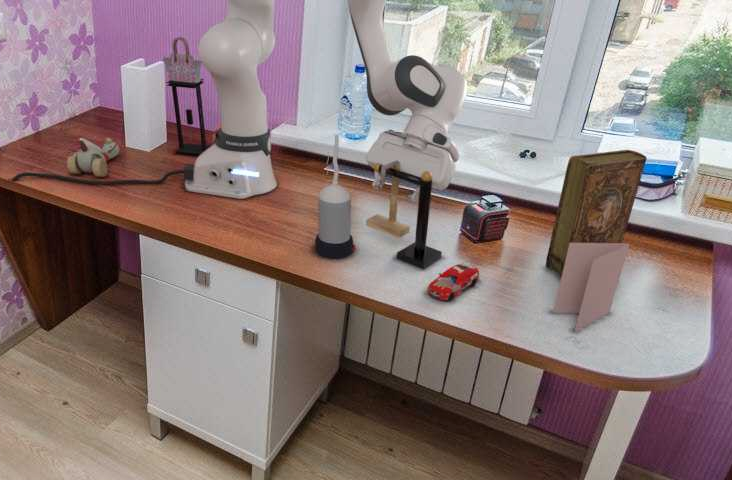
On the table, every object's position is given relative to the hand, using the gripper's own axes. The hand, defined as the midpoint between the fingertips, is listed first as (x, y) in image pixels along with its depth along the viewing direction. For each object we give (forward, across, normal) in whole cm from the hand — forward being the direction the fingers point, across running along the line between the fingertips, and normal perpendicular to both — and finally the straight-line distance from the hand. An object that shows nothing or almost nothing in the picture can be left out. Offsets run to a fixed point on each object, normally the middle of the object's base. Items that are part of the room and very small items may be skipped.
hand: (393, 194), depth 137 cm
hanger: (+7, 0, +4) cm, 8 cm away
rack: (+9, +4, +7) cm, 12 cm away
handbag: (+3, -75, +14) cm, 76 cm away
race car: (+14, +21, +3) cm, 25 cm away
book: (-5, +38, +22) cm, 44 cm away
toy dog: (+21, -82, -4) cm, 84 cm away
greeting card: (+9, +47, +8) cm, 48 cm away
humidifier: (+16, -7, 0) cm, 18 cm away
